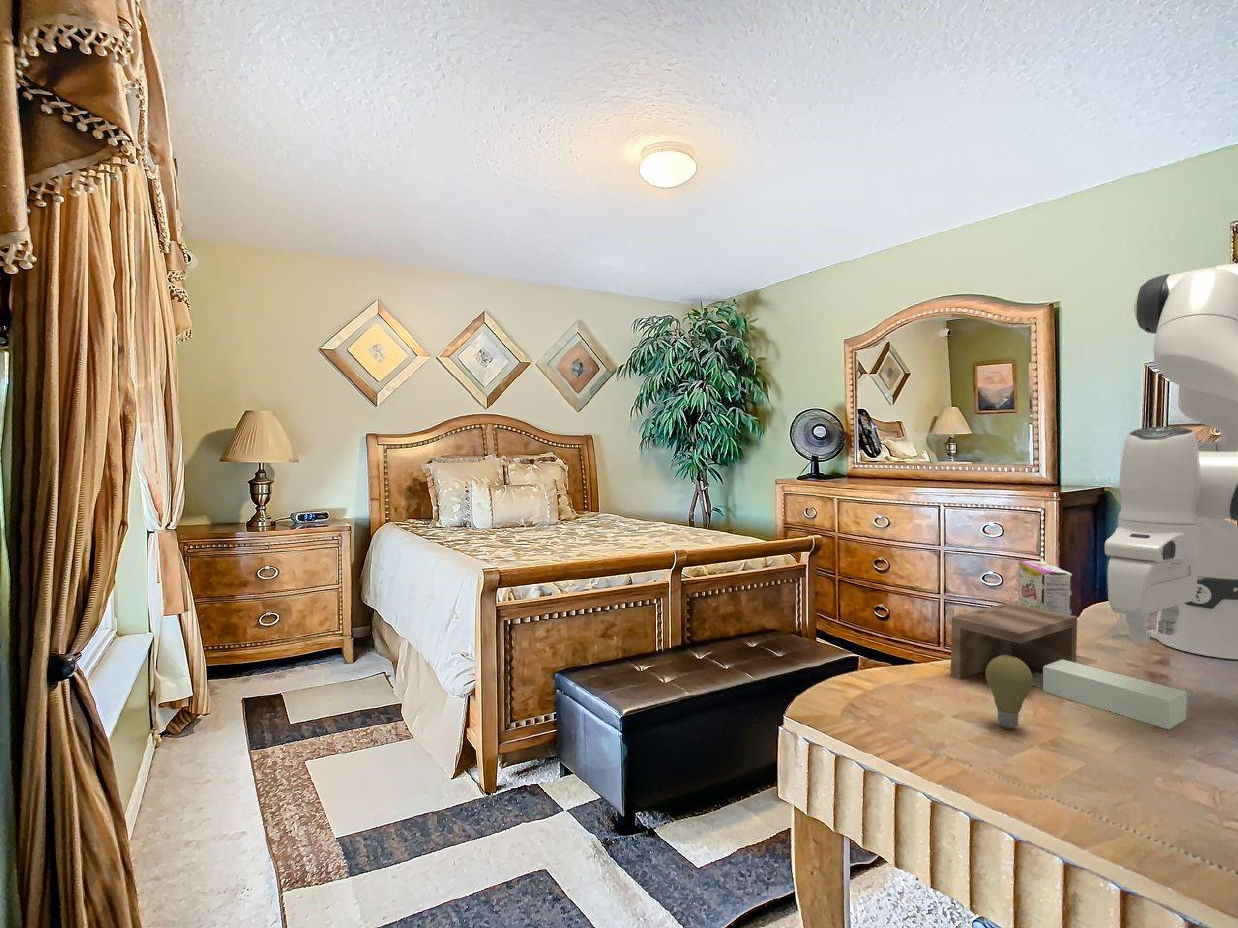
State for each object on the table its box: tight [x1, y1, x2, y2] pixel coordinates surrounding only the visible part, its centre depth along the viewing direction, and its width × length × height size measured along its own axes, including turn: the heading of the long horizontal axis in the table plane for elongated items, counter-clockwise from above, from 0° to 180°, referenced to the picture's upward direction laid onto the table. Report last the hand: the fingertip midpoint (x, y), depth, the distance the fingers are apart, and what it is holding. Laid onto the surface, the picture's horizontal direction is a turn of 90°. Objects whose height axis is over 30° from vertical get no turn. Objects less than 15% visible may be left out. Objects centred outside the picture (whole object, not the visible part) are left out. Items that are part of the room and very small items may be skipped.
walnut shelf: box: [950, 602, 1078, 688], centre depth 109 cm, size 18×11×10 cm, turn 122°
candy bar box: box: [1017, 560, 1073, 615], centre depth 120 cm, size 11×5×16 cm, turn 168°
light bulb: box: [985, 655, 1034, 730], centre depth 90 cm, size 6×6×10 cm
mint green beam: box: [1042, 659, 1188, 730], centre depth 98 cm, size 6×16×4 cm, turn 32°
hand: (1154, 638), depth 93 cm, fingers open, 8 cm apart
